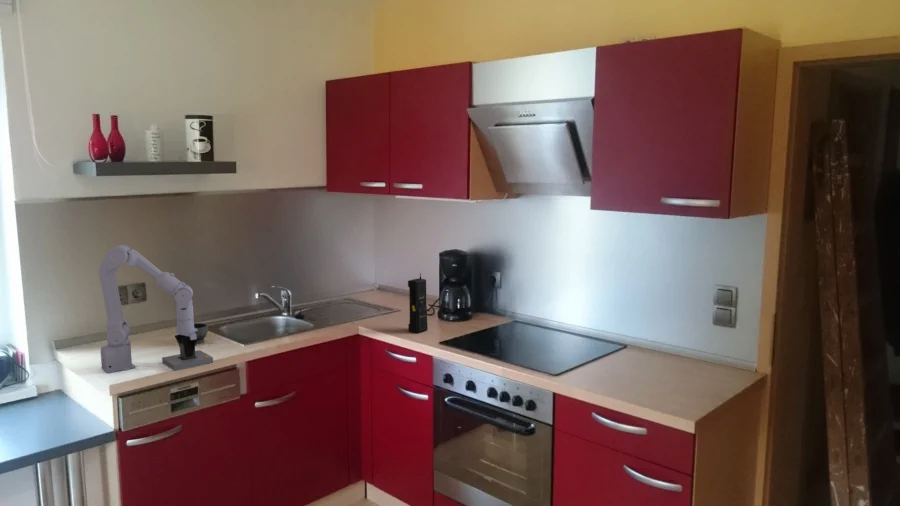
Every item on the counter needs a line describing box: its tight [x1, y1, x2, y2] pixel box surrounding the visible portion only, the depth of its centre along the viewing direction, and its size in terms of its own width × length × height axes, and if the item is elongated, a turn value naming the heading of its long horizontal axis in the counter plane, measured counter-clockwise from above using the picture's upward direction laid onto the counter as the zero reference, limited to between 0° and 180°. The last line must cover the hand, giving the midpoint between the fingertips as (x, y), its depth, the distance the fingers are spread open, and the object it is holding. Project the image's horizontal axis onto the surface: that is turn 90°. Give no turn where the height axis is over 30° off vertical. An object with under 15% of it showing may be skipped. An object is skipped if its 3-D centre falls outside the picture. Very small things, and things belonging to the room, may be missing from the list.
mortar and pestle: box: [194, 322, 209, 346], centre depth 266 cm, size 11×9×12 cm
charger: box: [179, 343, 196, 360], centre depth 241 cm, size 4×4×7 cm
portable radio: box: [407, 273, 429, 334], centre depth 284 cm, size 8×6×25 cm
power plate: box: [161, 349, 214, 371], centre depth 241 cm, size 14×12×2 cm
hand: (187, 355), depth 241 cm, fingers closed on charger, 4 cm apart
